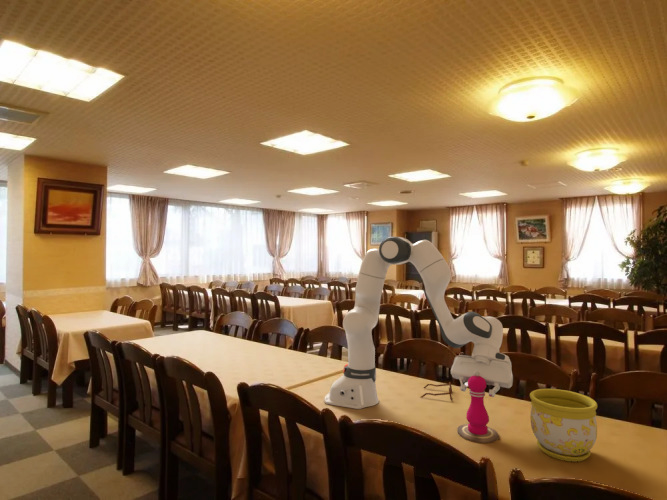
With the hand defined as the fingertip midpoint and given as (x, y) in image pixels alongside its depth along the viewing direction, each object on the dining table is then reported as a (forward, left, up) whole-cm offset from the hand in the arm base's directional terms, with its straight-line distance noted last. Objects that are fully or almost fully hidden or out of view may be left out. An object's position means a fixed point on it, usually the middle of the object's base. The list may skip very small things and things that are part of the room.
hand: (476, 393), depth 135 cm
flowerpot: (+24, -6, -14) cm, 29 cm away
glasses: (-12, +38, -15) cm, 43 cm away
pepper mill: (0, +1, -13) cm, 13 cm away
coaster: (0, +1, -14) cm, 14 cm away
